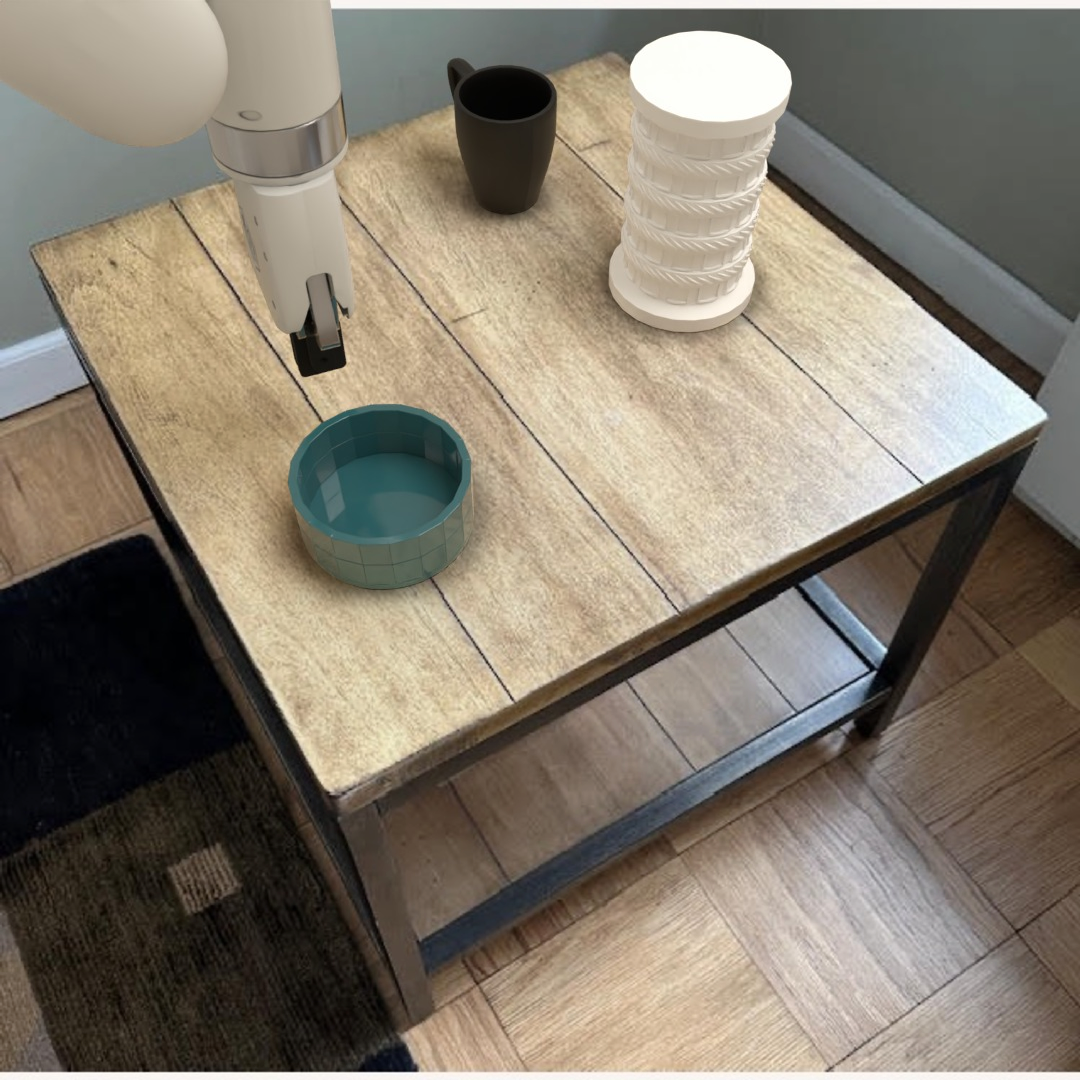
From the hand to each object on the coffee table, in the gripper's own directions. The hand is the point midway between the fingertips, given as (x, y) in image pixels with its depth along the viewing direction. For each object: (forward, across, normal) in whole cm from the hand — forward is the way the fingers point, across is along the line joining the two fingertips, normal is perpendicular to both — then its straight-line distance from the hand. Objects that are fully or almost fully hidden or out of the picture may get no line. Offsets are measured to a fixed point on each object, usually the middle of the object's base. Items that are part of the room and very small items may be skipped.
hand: (321, 364), depth 75 cm
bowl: (+6, +10, +1) cm, 12 cm away
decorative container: (+5, -4, +30) cm, 31 cm away
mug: (+5, -21, +21) cm, 30 cm away
